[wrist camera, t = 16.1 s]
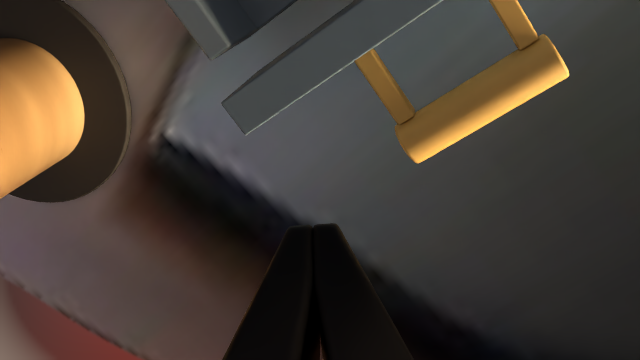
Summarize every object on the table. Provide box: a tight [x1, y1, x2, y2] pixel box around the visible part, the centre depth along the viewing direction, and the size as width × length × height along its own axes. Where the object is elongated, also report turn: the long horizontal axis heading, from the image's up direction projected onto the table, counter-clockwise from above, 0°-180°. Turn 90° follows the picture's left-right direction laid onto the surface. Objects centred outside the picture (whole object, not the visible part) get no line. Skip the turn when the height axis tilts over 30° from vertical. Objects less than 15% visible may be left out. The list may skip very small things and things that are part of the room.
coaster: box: [0, 0, 131, 203], centre depth 23 cm, size 9×9×1 cm
